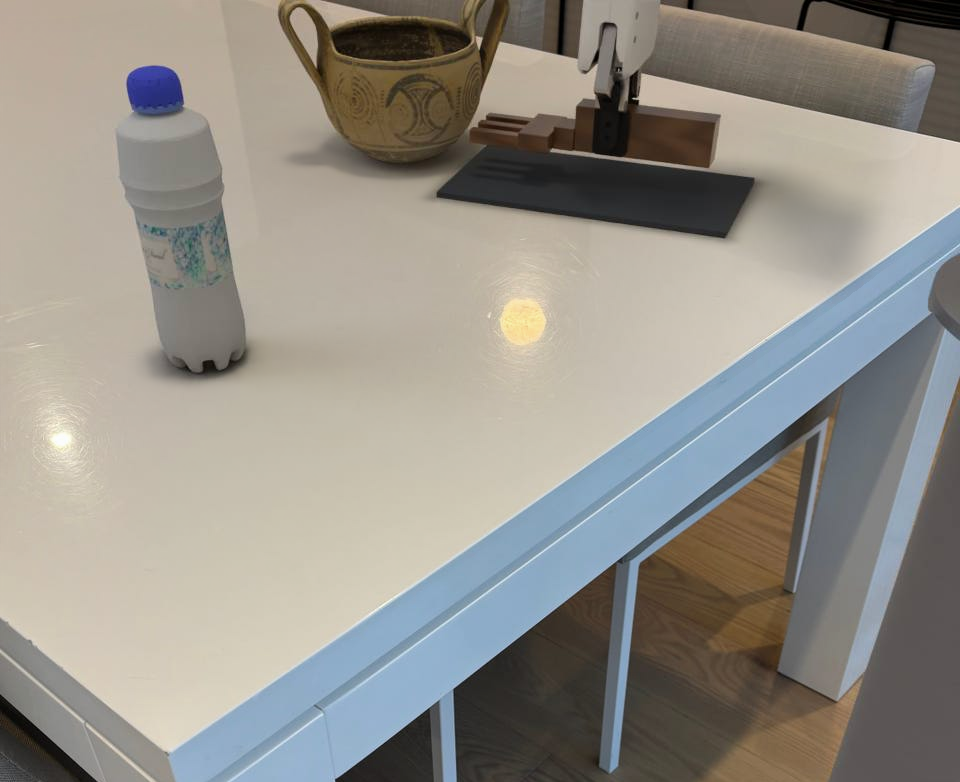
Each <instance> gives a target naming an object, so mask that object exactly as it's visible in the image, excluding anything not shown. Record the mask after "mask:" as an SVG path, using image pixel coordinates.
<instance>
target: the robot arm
mask: <svg viewBox="0 0 960 782" xmlns="http://www.w3.org/2000/svg"><path fill="white" fill-rule="evenodd" d="M661 2H662V1H661V0H582V11H581V20H580V30H579V31H580V33H579V43H578V53H577V69H578V71H579V73H580V74H581V75H588V73H590V71H591V70H592V69H594V68H595V67H596V73H595V77H594V82H593V83H594V84H593V93H594V100H595V111H594V126H593V141H592V152H593V153H592V154H594V155H598V156H606V157H613V158H620V159H621V158H625V157H624V156H625V154H626V152H627V141H628V130H629V119H630V111H629V110H626V109H627V103H628V104H636V105H640V99H639V97H640V94H641V84H642V73H643V64H645V62H646V61H647V60H648V59H649V57H651V55H652V53H653V52H654V50H655V47H656V41H657V35H658V28H659V21H660V10H661Z"/></svg>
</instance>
